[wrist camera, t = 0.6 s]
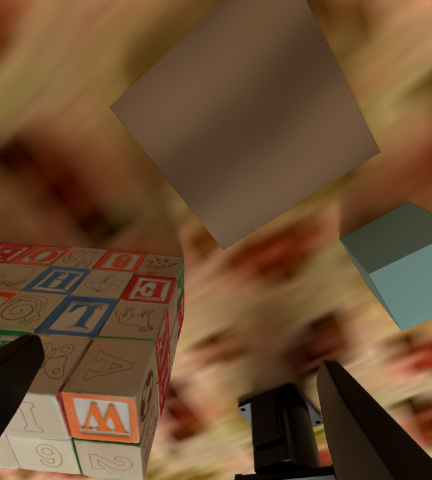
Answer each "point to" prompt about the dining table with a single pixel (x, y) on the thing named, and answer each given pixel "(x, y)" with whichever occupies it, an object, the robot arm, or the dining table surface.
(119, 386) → the stack of blocks
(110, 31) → the dining table surface
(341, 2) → the dining table surface
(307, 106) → the walnut block
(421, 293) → the teal cube
